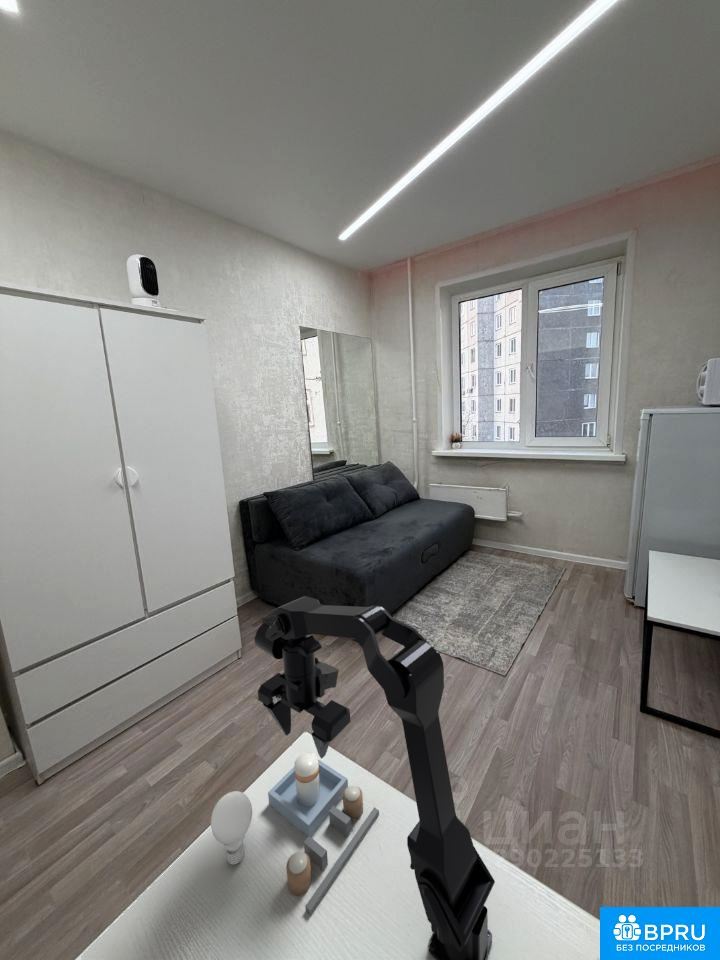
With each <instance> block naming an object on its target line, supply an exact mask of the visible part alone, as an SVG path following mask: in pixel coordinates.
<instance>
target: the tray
mask: <svg viewBox="0 0 720 960" xmlns="http://www.w3.org/2000/svg"><path fill="white" fill-rule="evenodd" d="M318 764H319V783H320V798H319V800H318V801H317V803H316V804H314V805H313V806H310V807H303V806H301V805H300V804H299V803H298V801H297V793H296V779H295V770H294V768H295V766H293V767H292V768H291V769H290V770H288V772H287V773H285V775H284V776H282V778H281V779H280V780H279V781H278V782H276V784H275V785H274V786H273V787H272V788H270V790H269V791H268V792H267V796H268V805H269V806H271V808H273V809H274V810H275V811H276V812H278V814H280V815H281V816H282V817H284V818H285V819H286V820H287V821H288V822H290V823H291V824H292V825H293V826H295V828H297V829H298V830H299V831H301V833H303V834H304V835H305V836H306V837H308V836H310V837H311V838H312V836H313V835H314V834H315V832H316V831H317V830H318V828H320V827H321V825H322V824H323V822H324V821H326V819H327V817H329V810H330V809H331V808H332V807H333V806H335V807H336V806H337V805H338V804H339V802H341V800H343V792H344V790H345V789H346V788H347V787H348V786H349V782H348V777H346V776H344V775H343V774H341V773H340V772H339V771H337V770H335V769H334V768H332V767H330V766H329V765H328V764H326V763H324V762H323V761H322V760H320V759H318Z"/></svg>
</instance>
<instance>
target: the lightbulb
mask: <svg viewBox="0 0 720 960" xmlns="http://www.w3.org/2000/svg"><path fill="white" fill-rule="evenodd" d="M252 820H253V805H252V801H251V800H250V798H249V796H247V794H245V793H244V792H242V791H238V790H235V791H234V790H233V791H230V792H228V793H226V794H225V795H223V796H222V797H220V798H219V800H218V802H216V804H215V806H214V808H213V810H212V813H211V817H210V829H211V833H212V835H213V837H214V838H215V839H216V841H217V842H218V843H220V844H222V845H223V847H224V849H226V850H225V851H226V859H227V862H228V863H229V864H230V865H237V864H239V863H240V862H241V861H242V859H243V858H244V855H245V845H244V841H245V835H246V833H247V831H248V830H249V828H250V825H251V824H252Z"/></svg>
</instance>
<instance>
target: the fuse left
mask: <svg viewBox="0 0 720 960" xmlns="http://www.w3.org/2000/svg"><path fill="white" fill-rule="evenodd" d="M285 869H286V878H287V879H286V880H287V881H286V882H287V889H288V892H289V893H290V894H291V895H292V896H294V897H301V896H304V895H305V894H306V893H307V892H308V891H309V889H310V888H311V885H312V869H311V861H310V858H309V856H308V855H307V854H306V853H305V852H304V851H297V852H294V853H293V854H292V855H290V856H289V858H288V860H287V862H286V868H285Z"/></svg>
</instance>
